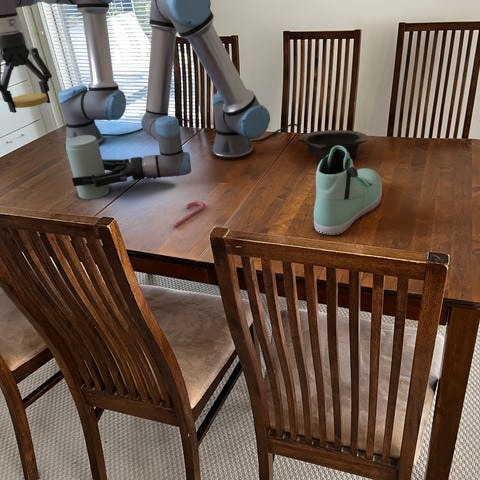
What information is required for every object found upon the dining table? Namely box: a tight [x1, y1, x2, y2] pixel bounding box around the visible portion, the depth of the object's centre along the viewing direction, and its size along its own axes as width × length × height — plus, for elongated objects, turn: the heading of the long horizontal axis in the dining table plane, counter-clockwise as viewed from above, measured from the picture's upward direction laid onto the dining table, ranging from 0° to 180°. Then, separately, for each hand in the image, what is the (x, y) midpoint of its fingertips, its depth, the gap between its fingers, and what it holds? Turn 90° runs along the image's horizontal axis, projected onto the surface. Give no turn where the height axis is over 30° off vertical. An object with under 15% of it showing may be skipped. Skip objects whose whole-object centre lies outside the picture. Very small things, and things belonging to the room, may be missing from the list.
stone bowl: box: [297, 129, 371, 164], centre depth 171 cm, size 25×25×9 cm
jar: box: [65, 135, 110, 200], centre depth 156 cm, size 10×10×18 cm
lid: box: [12, 92, 48, 109], centre depth 151 cm, size 11×11×2 cm
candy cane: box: [173, 200, 207, 229], centre depth 142 cm, size 6×15×2 cm, turn 145°
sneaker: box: [313, 146, 383, 236], centre depth 133 cm, size 14×35×20 cm, turn 152°
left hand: (30, 107), depth 152 cm, fingers closed on lid, 11 cm apart
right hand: (76, 175), depth 157 cm, fingers closed on jar, 10 cm apart
